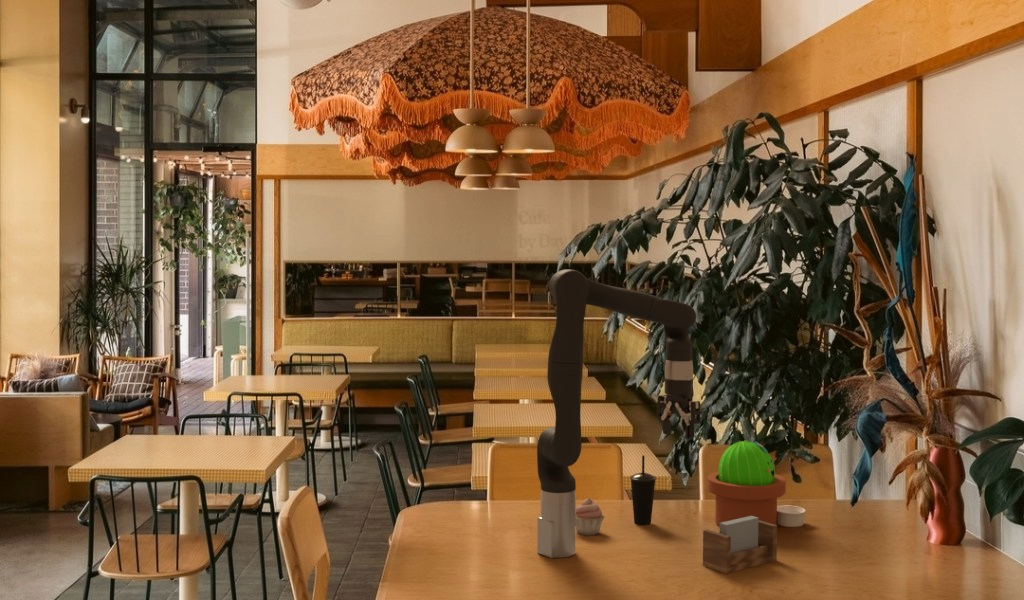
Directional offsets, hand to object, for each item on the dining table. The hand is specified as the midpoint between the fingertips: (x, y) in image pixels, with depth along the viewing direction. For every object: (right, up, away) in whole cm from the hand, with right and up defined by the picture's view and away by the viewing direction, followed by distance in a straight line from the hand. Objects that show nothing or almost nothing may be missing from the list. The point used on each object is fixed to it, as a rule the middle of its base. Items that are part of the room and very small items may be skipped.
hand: (678, 436), depth 296 cm
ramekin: (+36, -29, +25) cm, 53 cm away
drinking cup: (-7, -29, +25) cm, 38 cm away
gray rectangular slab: (+14, -30, -12) cm, 35 cm away
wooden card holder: (+14, -31, -12) cm, 36 cm away
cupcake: (-23, -29, +15) cm, 40 cm away
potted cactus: (+23, -29, +24) cm, 44 cm away
